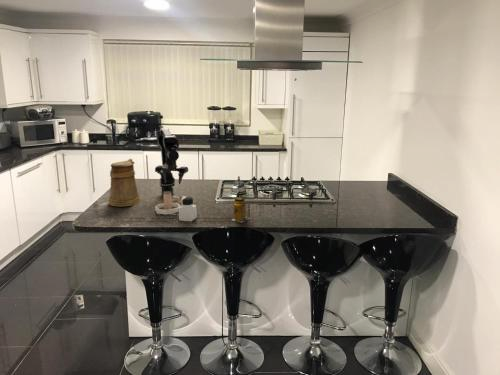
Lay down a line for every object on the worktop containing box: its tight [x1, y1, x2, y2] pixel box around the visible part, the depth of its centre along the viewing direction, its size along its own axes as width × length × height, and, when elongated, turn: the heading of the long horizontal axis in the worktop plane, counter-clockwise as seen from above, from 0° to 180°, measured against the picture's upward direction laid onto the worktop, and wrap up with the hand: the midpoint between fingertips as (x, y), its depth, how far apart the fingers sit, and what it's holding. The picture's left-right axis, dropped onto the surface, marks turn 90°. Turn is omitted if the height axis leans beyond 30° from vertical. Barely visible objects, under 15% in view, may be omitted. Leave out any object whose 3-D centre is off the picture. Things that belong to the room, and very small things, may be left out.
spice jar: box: [162, 191, 173, 210], centre depth 241 cm, size 4×4×11 cm
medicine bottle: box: [178, 196, 198, 223], centre depth 228 cm, size 7×7×12 cm
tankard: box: [108, 158, 141, 207], centre depth 257 cm, size 18×24×25 cm
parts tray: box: [171, 195, 183, 205], centre depth 258 cm, size 10×8×3 cm
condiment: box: [231, 196, 252, 223], centre depth 227 cm, size 7×8×12 cm
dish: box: [154, 202, 182, 215], centre depth 242 cm, size 13×13×3 cm
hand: (172, 183), depth 251 cm, fingers open, 9 cm apart
